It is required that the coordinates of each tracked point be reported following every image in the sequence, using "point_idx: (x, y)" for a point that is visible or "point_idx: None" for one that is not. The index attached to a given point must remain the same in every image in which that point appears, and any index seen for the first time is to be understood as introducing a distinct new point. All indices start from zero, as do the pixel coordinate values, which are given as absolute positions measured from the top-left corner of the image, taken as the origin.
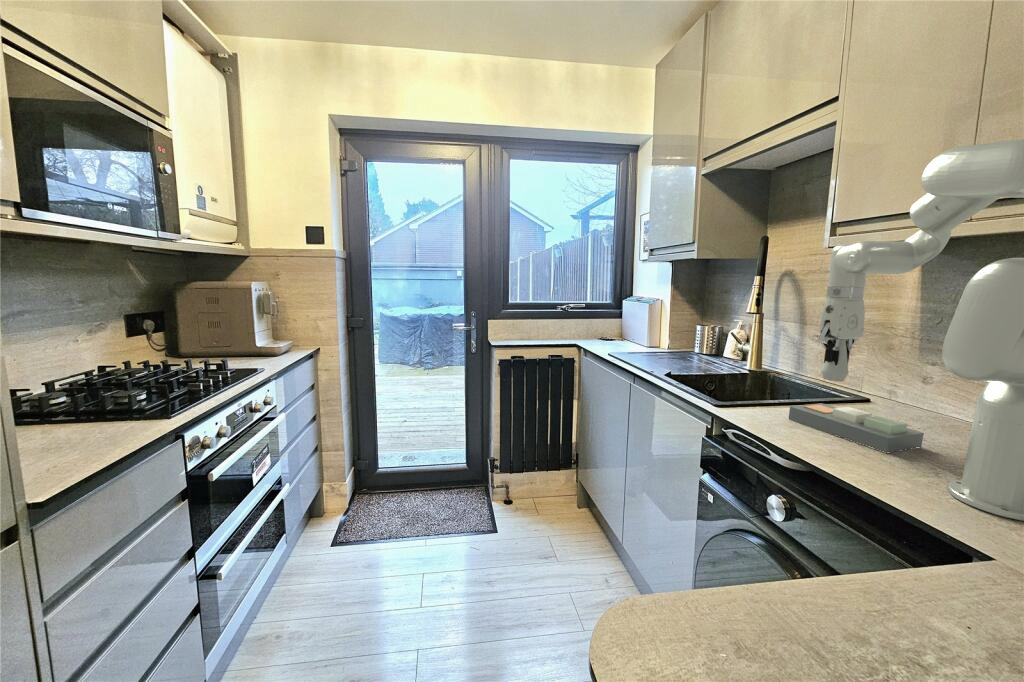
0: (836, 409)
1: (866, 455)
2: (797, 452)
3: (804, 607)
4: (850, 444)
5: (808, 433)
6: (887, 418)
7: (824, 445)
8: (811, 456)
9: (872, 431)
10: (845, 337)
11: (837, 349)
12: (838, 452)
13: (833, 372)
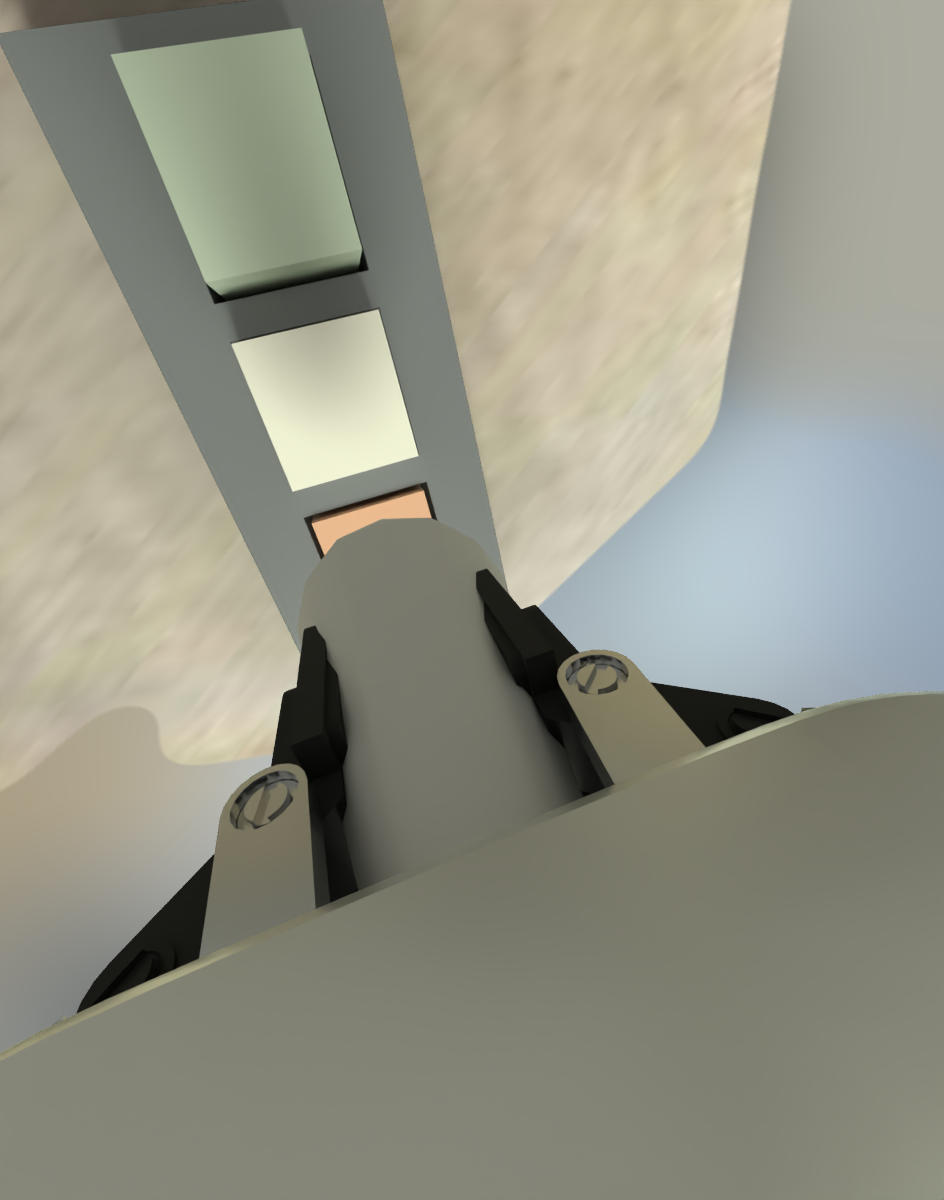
0: (411, 438)
1: (501, 54)
2: (759, 164)
3: None
4: (460, 228)
5: (540, 394)
6: (193, 216)
7: (590, 232)
8: (746, 103)
9: (385, 145)
10: (703, 765)
11: (560, 672)
12: (600, 128)
13: (479, 545)
